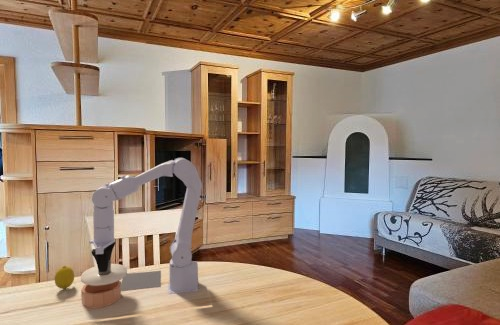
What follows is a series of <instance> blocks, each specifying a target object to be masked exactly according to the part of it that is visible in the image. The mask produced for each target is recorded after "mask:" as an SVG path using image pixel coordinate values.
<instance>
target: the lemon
mask: <svg viewBox="0 0 500 325" xmlns="http://www.w3.org/2000/svg"><path fill="white" fill-rule="evenodd" d="M74 280H75V273H74V270H73V268H71V266H66V265H63V266H61V267H60V268H58V269H57V270H56V272H55V275H54V283H55V286H56V287H57V288H59V289H62V290H67V288H69V287H71V285H72V284H73V283H74Z"/></svg>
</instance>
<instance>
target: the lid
mask: <svg viewBox="0 0 500 325" xmlns="http://www.w3.org/2000/svg"><path fill="white" fill-rule="evenodd" d="M126 274H128V268H127V267H126V266H125V265H123V264H119V263H112V260H109V262H108V268H107V271H106V272H99V270H98V266H97V265H96V266H92V267H90V268H88V269H86V270H85V271H83V272H82V274H81V275H80V281H81V282H82V283H83V284H84V285H86V284H87V285H92V286H100V285H107V284H111V283H114V282H117V281H122V279H123V278H124V277H125V276H126Z"/></svg>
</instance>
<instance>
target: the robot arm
mask: <svg viewBox="0 0 500 325" xmlns="http://www.w3.org/2000/svg"><path fill="white" fill-rule="evenodd" d="M173 174H174V175H173ZM174 176H176V177H177V179H179V180H180V181H182V182H183V184H184V186H186V191H185V194H184V200H183V203H182V209H181V214H180V219H179V224H178V228H177V232H176V234H175V236H174V239H173V241H172V243H170V246H169V252H170V254H171V259H170V260H169V282H168V283H167V286H168V287H167V288H168V290H167V291H168V292H167V294H170V295H172V294H179V293H181V294H182V293H189V292H197V291H199V289H198V288H199V267H198V260H197V261H196V260H195V261H194V260H192V258H193V254H192V251H191V250H192V236H193V232H194V226H195V223H196V222H195V221H196V217H197V212H198V208H199V203H200V199H201V198H200V197H201V194H202V188H203V182H202V180H201V177H200V176H199V173H198V170H197V167H196V166H195V165H194V164H193V163H192V162H191V161H190V160H188V159H186V158H184V157H177V158H174V160H173V159H171V160H168V161H165V162H162V163H160V164H158V165H156V166H154V167H152V168H150V169H148V170H146V171H144V172H142V173H140V174H138V175H136V176H133V175H130V174H128V175H125V174H123V175H121V176H120V178H119V179H117V180H115V181H113V182H110V183H109V182H107V183H105V184H104V186H100V187H99V188H97V189H96V190H95V191H94V193H93V194H92V196H91V202H92V204H93V215H92V217H93V223H92V224H93V239H90V240H89V244H90V245H93V246H94V247H95V248H93V249H92V250H91V256H93V258H94V261H95V262H96V266H98V270H99V272H106V271H107V268H108V262H109V260H111V259H112V255H113V254H112V253H113V249H114V247H115V246H116V239H115V214H114V213H115V211H114V201H120V200H122V199H123V198H126V197H128V196H130V195H132V194H134V193H137V192H138V189H139V187H140V186H142V185H144V184H147V183H149V182H151V181H154V180H156V179H158V178H161V177H171V178H172V177H173V178H174ZM111 261H112V260H111Z"/></svg>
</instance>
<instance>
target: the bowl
mask: <svg viewBox="0 0 500 325" xmlns="http://www.w3.org/2000/svg"><path fill="white" fill-rule="evenodd" d="M121 283H122V281H121V280H119V281H117V282H114V283H111V284H107V285H100V286H92V285H87V284H84V285H83V286H82V288H81V291H80V292H81V294H80V295H81V296H80V297H81V303H82V305H83V306H84V307H86V308H94V309H95V308H96V309H97V308H104V307H108V306H109V305H112V304H115V303H117V301H119V300H120V299H121V296H122V291H121Z"/></svg>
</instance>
